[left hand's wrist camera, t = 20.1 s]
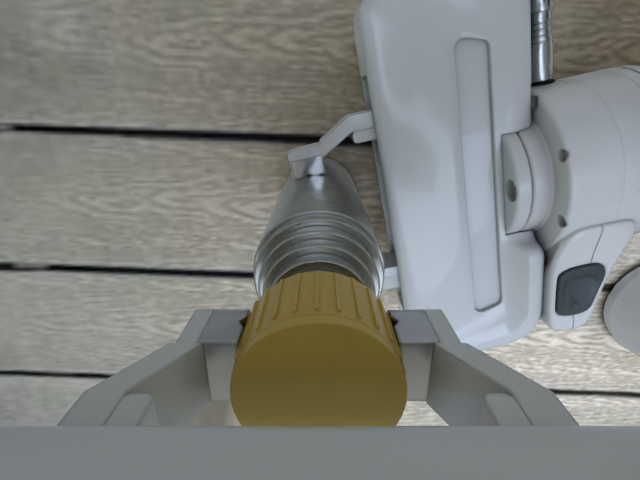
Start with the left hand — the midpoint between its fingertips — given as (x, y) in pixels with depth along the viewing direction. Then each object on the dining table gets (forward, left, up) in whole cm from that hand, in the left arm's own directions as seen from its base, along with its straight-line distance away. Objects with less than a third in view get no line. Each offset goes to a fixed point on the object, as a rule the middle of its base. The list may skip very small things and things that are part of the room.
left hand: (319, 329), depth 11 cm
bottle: (0, 0, -17) cm, 17 cm away
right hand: (-1, +1, -11) cm, 11 cm away
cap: (0, 0, +2) cm, 2 cm away
